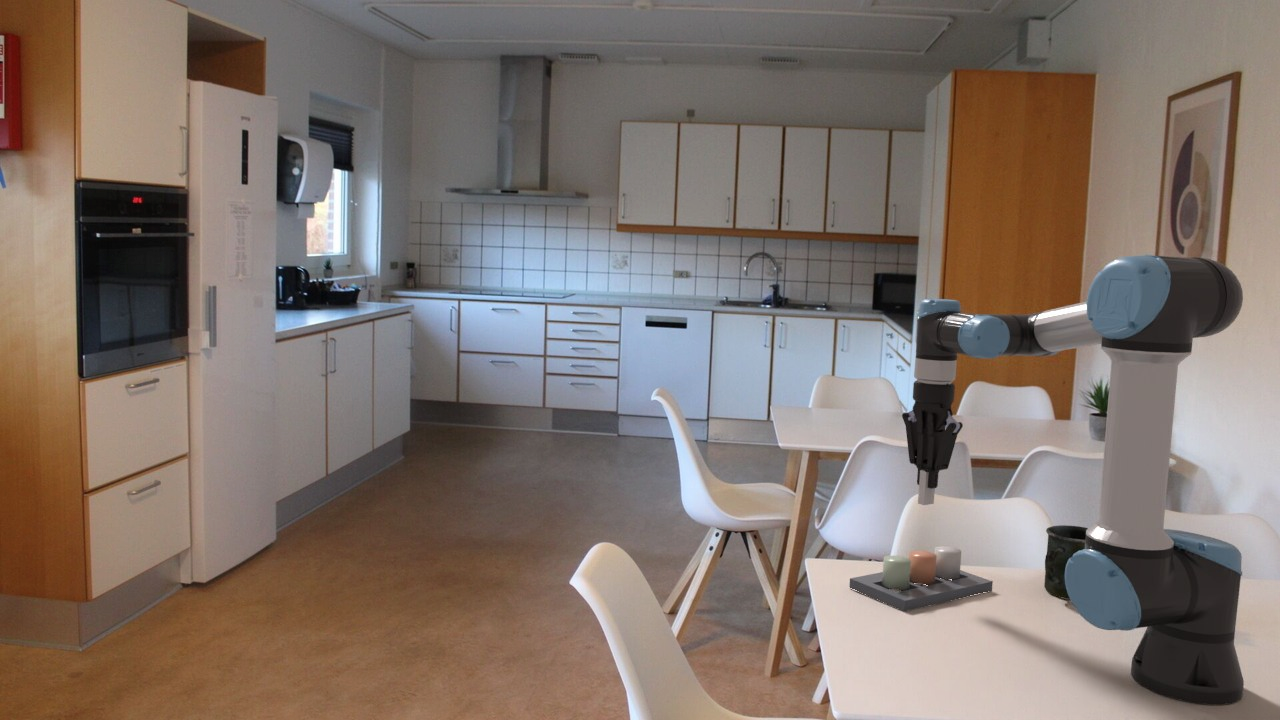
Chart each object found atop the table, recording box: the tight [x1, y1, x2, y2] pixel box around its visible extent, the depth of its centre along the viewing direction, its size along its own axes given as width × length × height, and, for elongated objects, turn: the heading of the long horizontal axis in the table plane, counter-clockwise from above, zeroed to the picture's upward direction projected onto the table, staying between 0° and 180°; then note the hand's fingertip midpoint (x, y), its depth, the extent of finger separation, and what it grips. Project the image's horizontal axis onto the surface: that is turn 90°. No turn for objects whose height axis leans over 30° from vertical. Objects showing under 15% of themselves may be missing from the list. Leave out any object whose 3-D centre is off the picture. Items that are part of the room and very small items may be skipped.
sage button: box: [882, 555, 911, 591], centre depth 192 cm, size 5×5×5 cm
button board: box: [849, 569, 994, 612], centre depth 196 cm, size 14×24×2 cm, turn 122°
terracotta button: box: [909, 550, 937, 585], centre depth 196 cm, size 5×5×5 cm
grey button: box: [934, 545, 962, 580], centre depth 199 cm, size 5×5×5 cm
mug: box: [1043, 524, 1089, 600], centre depth 196 cm, size 11×15×12 cm
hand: (925, 503), depth 195 cm, fingers closed
